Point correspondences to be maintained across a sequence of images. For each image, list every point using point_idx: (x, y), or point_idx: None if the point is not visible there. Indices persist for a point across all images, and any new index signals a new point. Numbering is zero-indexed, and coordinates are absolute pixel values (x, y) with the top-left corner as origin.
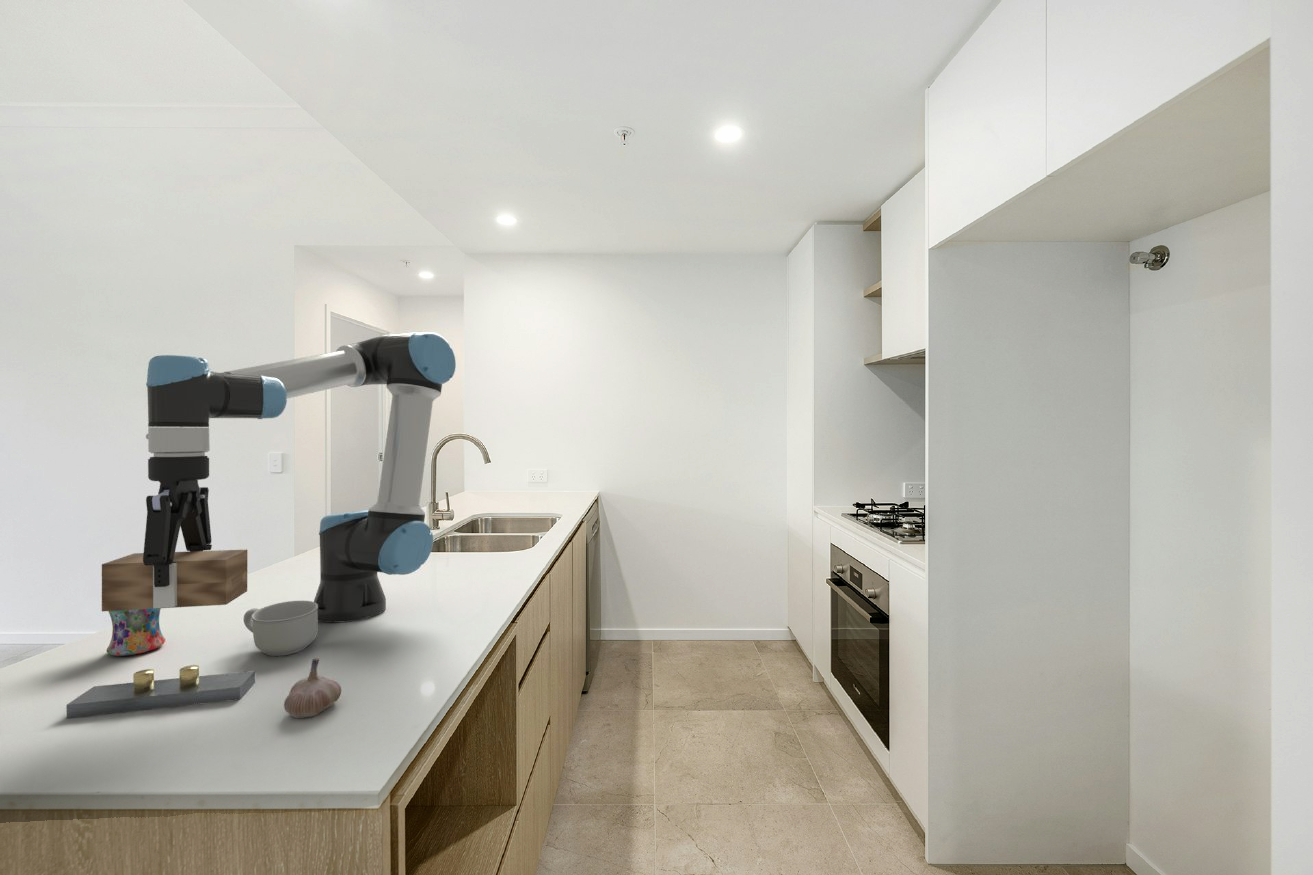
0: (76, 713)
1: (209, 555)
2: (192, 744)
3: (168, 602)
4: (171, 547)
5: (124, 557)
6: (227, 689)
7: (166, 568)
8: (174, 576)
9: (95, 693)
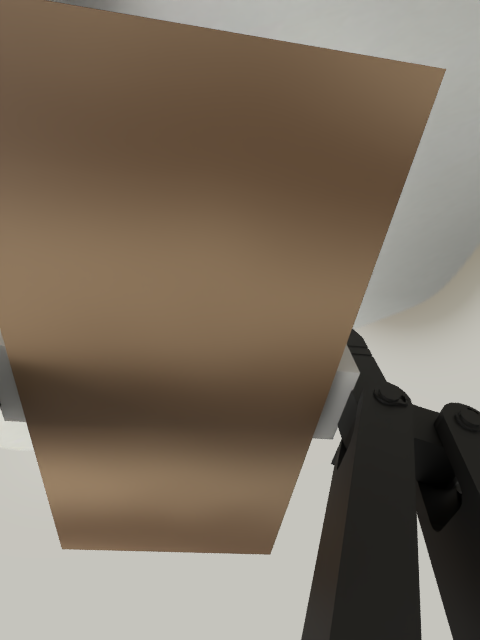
0: None
1: (187, 264)
2: (455, 96)
3: None
4: (412, 463)
5: (147, 546)
6: None
7: (373, 380)
8: None
9: None
